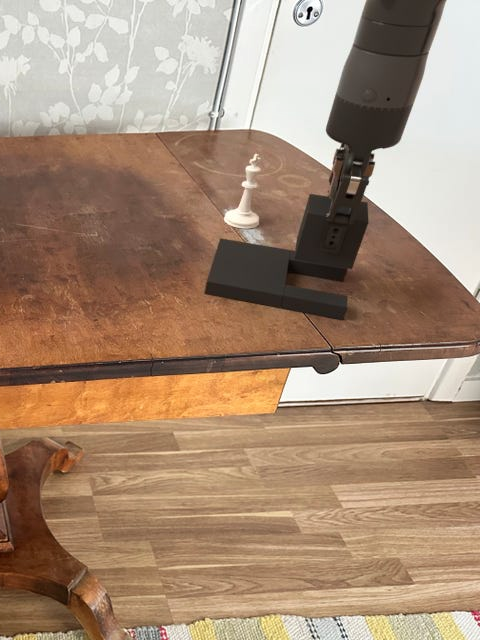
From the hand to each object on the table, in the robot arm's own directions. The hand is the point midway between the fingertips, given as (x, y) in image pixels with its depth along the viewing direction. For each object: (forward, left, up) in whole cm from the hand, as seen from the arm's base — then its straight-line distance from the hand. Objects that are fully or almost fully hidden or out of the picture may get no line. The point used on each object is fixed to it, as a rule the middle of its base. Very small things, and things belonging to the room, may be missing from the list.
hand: (328, 238), depth 83 cm
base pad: (+4, 0, -7) cm, 8 cm away
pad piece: (0, 0, -2) cm, 2 cm away
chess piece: (+10, -16, -7) cm, 20 cm away
